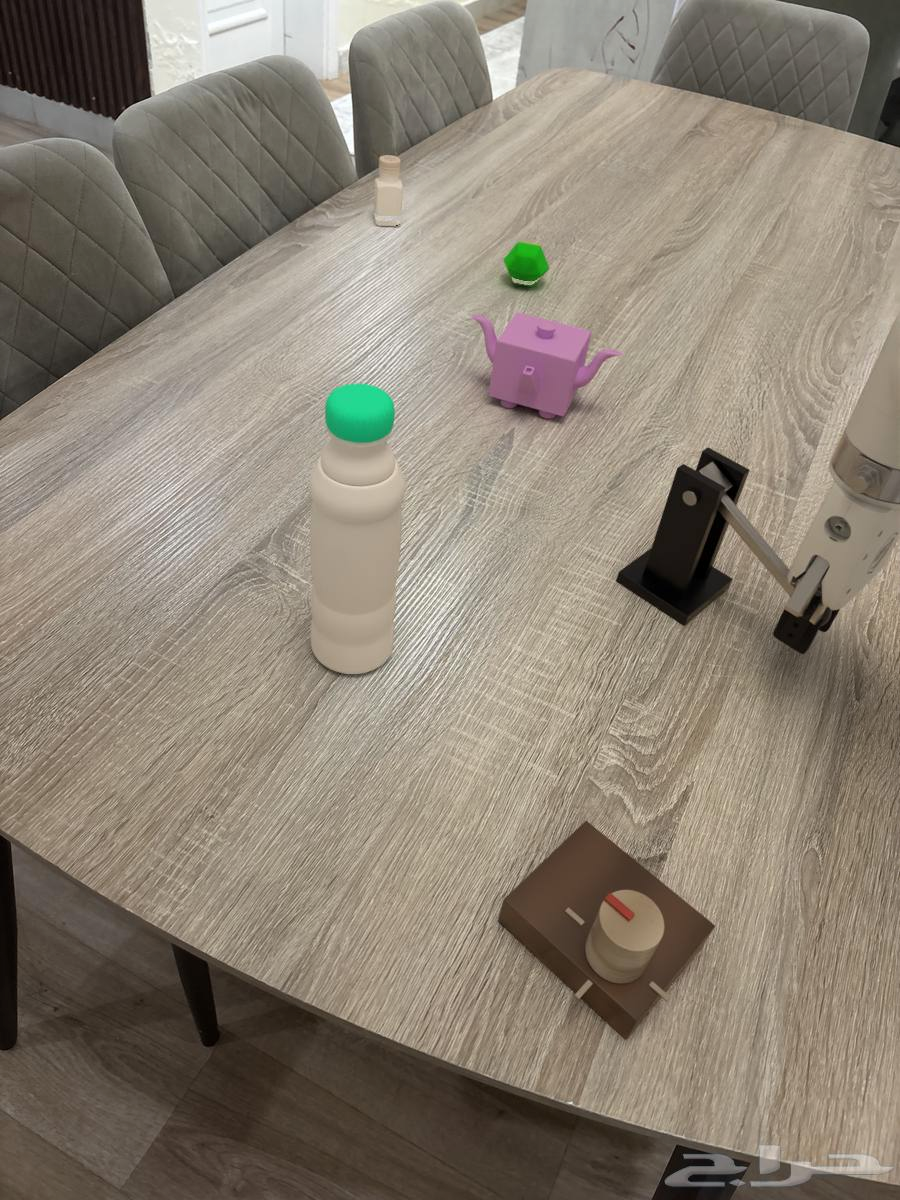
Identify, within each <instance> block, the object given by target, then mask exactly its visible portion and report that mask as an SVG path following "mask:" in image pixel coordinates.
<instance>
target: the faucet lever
mask: <svg viewBox="0 0 900 1200" xmlns="http://www.w3.org/2000/svg"><path fill="white" fill-rule="evenodd" d="M698 472H699V473H701V474H703V475H704V476H706V477H708V478H710V479H712V480H713V481H715V482H717V483H719V484H720V485H722V486H724V487H725V488H726V489H725V491H724V494H723V497H722V499H721V502H720V505H719V507H718V511H719V512H720V513H721V515H722V516H723V517H724V518H725V519H726V521H727V522H728V523H729V526H730V527H731V528H732V529H733V531H735V533H736V534H737V536H739V538H740V539H741V540H742V541H743V542H744V543H745V545H746V546H747V548H749V549H750V550H751V552H752V553H753V554H754V555H755V557H756V558H757V559H758V560H759V561H760V563H761V564H762V565H763V567H765V569H766V570H767V572H769V573H770V575H771V577H773V578H774V579H775V580H776V582H777V583H778V584H779V586H780V587H781V588H782V589H783V590H784V591H785V592H786V594H787V596H789V598H790V597H791V595H792V593H793V591H794V589H795V588H796V586H797V584H798V582H799V581H798V582H797V583H795V584H793V585H789V583H788V579H787V576H788V573H789V570H790V567H788V566H787V564H786V563H785V562H784V561H783V560H782V558H781V557H780V556H779V555H778V554H777V553H776V551H775V550H774V549H773V548H772V547H771V545H770V544H769V542H767V541H766V540H765V539H764V537H763V536H762V534H761V533H760V532H759V531H758V530H757V529H756V528H755V527H754V525H753V524H752V523H751V522H750V520H749V519H748V518H747V517H746V516H745V515H744V513H743V512H742V511H741V510H740V508H739V507H738V506H737V505H735V504H734V503H733V501H732V500H731V499H730V498H729V497H728V495H727V494H726V493H725V492H726V491H727V490H729V489H730V488H731V487H732V486H733V485H732V484H731V483H730V482H729V480H728V479H727V478H726V477H725V476H724V474H723V473H722V472H721V471H720V470H719V468H718V467H717V466H716V465H715V464H714V463H713V462H711V463H709V464H708V465H707V466H705V467H704V468H702V469H701V470H699V471H698ZM820 600H821V599H819V598H817V597H816V596H814V595H813V597H812V599H811V600H810V602H811V603H813V604H815V606H816V607H817V605H818V603H819V601H820ZM831 614H832V610H831V609H830V608H829V607H827V608H826V609H825V611H824V613H823V615H822V616H821V618H820V619H822V620H823V623H822V625H821V626H823V625H824V624H825V623H827V622H828V620H829V619H830V617H831Z"/></svg>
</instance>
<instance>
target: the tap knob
mask: <svg viewBox="0 0 900 1200" xmlns="http://www.w3.org/2000/svg"><path fill="white" fill-rule="evenodd" d="M663 934H664V919H663V916H662V913H661V911H660V910H659V908H658V907H657V905H656V904H655V903H654V902H653V901H652V900H651V899H650V898H648V897H647V896H645V895H644V894H642V893H640V892H637V891H633V890H619V891H616V892H613V893H609V894H608V895H607V896H606V898H605V899H604V901H603V902H602V904H601V906H600V909H599V911H598V914H597V916H596V918H595V921H594V923H593V926H592V928H591V930H590V933H589V935H588V938H587V940H586V945H585V952H586V957H587V960H588V962H589V964H590V966H591V967H592V969H593V970H594V971H595V972H596V973H597V974H598V975H599V976H601V977H602V978H604V979H605V980H607V981H610V982H613V983H619V984H625V983H630V982H633V981H635V980H636V979H638V978H639V977H640V976H641V975H642V974H643V972H644V970H645V969H646V967H647V965H648V963H649V961H650V959H651V957H652V956H653V954H654V952H655V950H656V948H657V946H658V944H659V942H660V941H661V939H662V937H663Z"/></svg>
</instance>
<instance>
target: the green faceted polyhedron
mask: <svg viewBox="0 0 900 1200" xmlns="http://www.w3.org/2000/svg"><path fill="white" fill-rule="evenodd" d="M503 263H504V265H505V268H506V270H507V272H508V275H509V274H510V275H509V277H510V276H511V277H513V278H515V279H519V280H523V281H535V280H537V279H538V278H540V277H541V276H543V277H544V276H545V274H546V273H547V272H548V271H549V270H550V266H549V263H548V261H547V258H546V255H545V253H544V250H543V247H542V246H541V244H538V243H533V242H527V241H517V242H516V244H515V245H514V246H513V247H512V248H511V249H510V251H509V252H508V253H507V254H506V256H505V257H504V258H503ZM511 277H510V280H511V282H512V283H513V284H514V285H518V286H525V287H534V286H536V285H537V284H538V282H539V281H540V280H538V281H537V282H535V283H534V284H532V285H524V284H519V283H514V282H513V281H512V279H511Z"/></svg>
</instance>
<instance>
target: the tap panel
mask: <svg viewBox="0 0 900 1200" xmlns="http://www.w3.org/2000/svg"><path fill="white" fill-rule="evenodd" d="M619 890H633V891H637V892H640V893H642V894H644V895H645V896H647V897H648V898H650V899H651V900H652V901H653V902H654V903H655V904H656V905H657V907H658V908H659V910H660V911H661V913H662V916H663V919H664V934H663V937H662V939H661V941H660V942H659V944H658V946H657V948H656V950H655V952H654V954H653V956H652V957H651V959H650V961H649V963H648V965H647V967H646V969H645V970H644V972H643V974H642V975H641V976H640V977H639V978H638V979H636V980H635V981H633V982H630V983H625V984H619V983H613V982H610V981H607V980H605V979H604V978H602V977H601V976H599V975H598V974H597V973H596V972H595V971H594V970H593V969H592V967H591V966H590V964H589V962H588V960H587V957H586V952H585V945H586V940H587V938H588V935H589V933H590V930H591V928H592V926H593V923H594V921H595V918H596V916H597V914H598V911H599V909H600V906H601V904H602V902H603V901H604V899H605V898H606V896H607V895H608V894H609V893H613V892H616V891H619ZM497 922H498V923H499V924H501V926H502V927H504V928H505V929H506V930H507V931H508V932H509V933H510V934H511V935H512V936H513V937H514V938H516V940H517V941H519V942H520V943H521V944H522V945H523V946H524V947H525V948H526V949H527V950H528V951H529V952H530V953H532V954H533V955H534V956H535V957H536V958H537V959H538V960H539V961H540V962H541V963H542V964H544V966H546V967H547V968H548V969H549V970H550V971H551V972H552V973H553V974H554V975H555V976H556V977H558V979H560V980H561V982H563V984H565V985H566V986H567V987H568V988H569V989H570V990H571V991H572V992H573V993H575V994H574V997H575V998H576V999H578V1000H580V999H581V1000H583V1002H584V1003H585V1004H587V1005H588V1006H589V1008H590V1009H592V1010H593V1011H594V1012H595V1013H596V1014H597V1015H598V1016H600V1018H602V1019H603V1020H604V1021H605V1022H606V1023H607V1024H608V1025H609V1026H610V1027H611V1028H612V1029H613V1030H614V1031H616V1032H617V1033H618V1034H619V1035H620V1036H621V1037H622V1038H623V1039H624V1040H625V1041H626V1040H628V1039H629V1038H630V1037H631V1035H632V1034H633V1033H634V1032H635V1031H636V1029H637V1028H638V1026H640V1025H641V1023H642V1022H643V1021H644V1020H645V1018H646V1017H647V1016H648V1014H649V1013H650V1012H651V1011H652V1010H653V1008H655V1006H656V1005H657V1003H658V1002H659V1001H660V1000H661V999H663V1000H664V1001H665V1002H668V1001H669V1000H670V999H671V996H670V995H669V994H668V993H667V991H669V990H670V988H671V986H672V985H673V984H674V983H675V982H676V980H677V979H678V978H679V977H680V975H681V974H682V973H683V972H684V970H685V969H686V968H688V966H689V965H690V963H691V962H692V961H693V960H694V959H695V957H696V956H697V955H698V954H699V952H701V950H702V949H703V947H704V945H705V944H706V943H707V941H708V939H709V938H710V936H711V934H712V933H713V931H714V929H715V928H716V925H715V923H713V922H712V921H710V920H709V919H708V918H707V917H706V916H704V915H703V914H702V913H701V912H699V911H698V910H697V909H696V908H694V907H693V906H692V905H691V904H690V903H688V902H687V901H686V900H684V899H683V898H682V897H681V896H679V895H678V894H677V893H676V892H675V891H673V890H672V889H671V888H670V887H668V886H667V885H666V884H665V883H663V881H661V880H660V879H659V878H658V877H657V876H655V875H654V874H652V872H650V871H649V870H648V869H647V868H646V867H644V866H643V865H641V864H640V863H639V862H638V861H637V860H635V859H634V857H632V856H631V855H630V854H629V853H627V852H626V851H624V850H623V849H622V848H621V847H620V846H619V845H617V844H616V843H614V841H612V840H611V839H610V838H608V836H606V835H605V834H603V832H601V831H600V830H599V829H597V828H596V827H595V826H594V825H593V824H591V823H590V821H588V820H585V821H583V822H582V823H581V824H580V825H579V826H578V827H577V828H576V829H575V830H574V831H573V832H572V833H571V834H570V835H569V836H568V837H567V838H566V839H565V840H563V842H561V844H559V846H558V847H556V848H555V850H553V851H552V852H551V853H550V854H549V855H548V856H547V857H545V859H544V860H543V861H542V862H540V863H539V864H538V866H536V867H535V869H534V870H532V871H531V872H530V873H529V874H528V875H527V876H526V877H525V878H524V879H523V880H522V881H521V882H520V883H519V884H518V885H517V886H516V887H515V888H513V890H512V891H510V892H509V893H508V894H507V895H506V896H505V897H504V898H503V900H502V903H501V907H500V911H499V915H498V919H497Z"/></svg>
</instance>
